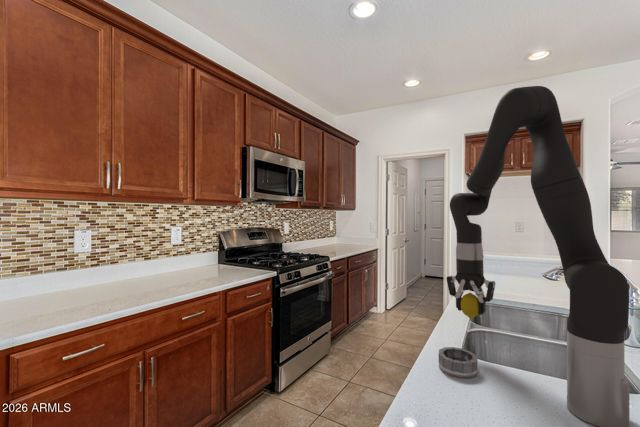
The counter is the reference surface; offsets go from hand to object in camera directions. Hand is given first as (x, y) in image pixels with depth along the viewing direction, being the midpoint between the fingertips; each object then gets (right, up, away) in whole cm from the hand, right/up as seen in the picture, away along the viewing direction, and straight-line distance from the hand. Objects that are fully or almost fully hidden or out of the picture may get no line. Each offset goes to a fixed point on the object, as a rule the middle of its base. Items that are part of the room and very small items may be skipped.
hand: (470, 311), depth 94 cm
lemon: (0, -2, 0) cm, 2 cm away
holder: (-8, -13, -9) cm, 18 cm away
